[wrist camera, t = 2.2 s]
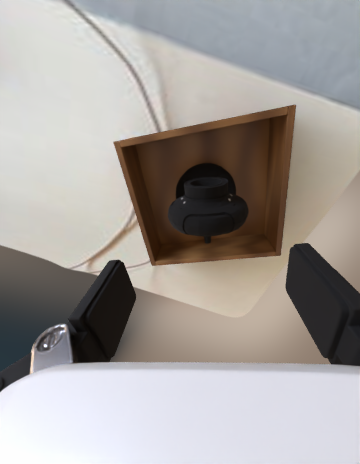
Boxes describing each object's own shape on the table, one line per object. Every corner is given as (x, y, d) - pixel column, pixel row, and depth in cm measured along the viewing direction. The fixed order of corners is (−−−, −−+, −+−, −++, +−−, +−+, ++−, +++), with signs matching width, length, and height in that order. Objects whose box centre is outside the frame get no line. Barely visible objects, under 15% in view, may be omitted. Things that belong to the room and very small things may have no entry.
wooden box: (274, 110, 19) (296, 104, 15) (267, 235, 26) (280, 255, 22) (130, 139, 22) (113, 141, 18) (158, 246, 29) (151, 265, 25)
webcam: (237, 159, 21) (263, 178, 13) (235, 217, 25) (254, 264, 16) (172, 165, 22) (154, 187, 14) (178, 220, 26) (167, 265, 17)
